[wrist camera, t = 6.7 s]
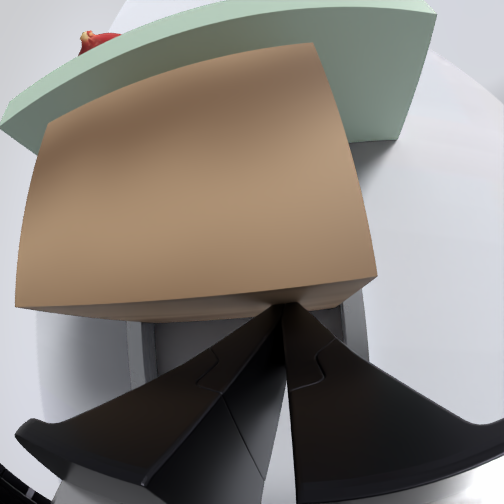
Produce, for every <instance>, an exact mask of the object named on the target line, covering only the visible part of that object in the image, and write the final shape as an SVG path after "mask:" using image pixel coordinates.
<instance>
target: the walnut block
mask: <svg viewBox="0 0 504 504" xmlns="http://www.w3.org/2000/svg"><path fill="white" fill-rule="evenodd" d="M376 277H377V269H376V263H375V257H374V251H373V246H372V240H371V235H370V230H369V225H368V220H367V215H366V211H365V206H364V202H363V197H362V193H361V189H360V185H359V181H358V177H357V173H356V169H355V165H354V161H353V158H352V154H351V151H350V147H349V144H348V140H347V137H346V133H345V130H344V127H343V124H342V120H341V117H340V114H339V111H338V108H337V105H336V102H335V99H334V96H333V93H332V90H331V88H330V85H329V82H328V79H327V77H326V74H325V71H324V69H323V66H322V63H321V61H320V58H319V56H318V53H317V51H316V48H315V46H314V44H313V42H312V43H301V44H292V45H284V46H276V47H270V48H263V49H257V50H252V51H246V52H241V53H236V54H231V55H227V56H222V57H218V58H214V59H210V60H206V61H202V62H198V63H194V64H191V65H187V66H184V67H180V68H177V69H174V70H170V71H167V72H164V73H161V74H158V75H155V76H152V77H149V78H147V79H144V80H141V81H138V82H136V83H133V84H130V85H128V86H125V87H123V88H120V89H118V90H115V91H113V92H111V93H108V94H106V95H104V96H102V97H99V98H97V99H95V100H93V101H91V102H88V103H86V104H84V105H82V106H80V107H78V108H76V109H74V110H72V111H70V112H68V113H66V114H64V115H62V116H61V117H59V118H57V119H55V120H53V121H51V122H50V123H48V125H47V128H46V131H45V134H44V137H43V140H42V143H41V146H40V149H39V153H38V156H37V160H36V163H35V167H34V171H33V175H32V179H31V183H30V188H29V192H28V196H27V201H26V206H25V211H24V217H23V224H22V229H21V236H20V244H19V252H18V262H17V274H16V290H15V307H18V308H24V309H31V310H37V311H43V312H50V313H58V314H65V315H73V316H82V317H91V318H101V319H111V320H122V321H134V322H148V323H171V322H191V321H207V320H221V319H235V318H247V317H256V316H257V315H259V314H260V313H262V312H263V311H264V310H266V309H267V308H269V307H270V306H271V305H274V304H286V303H292V302H299V303H300V304H301V305H302V306H303V307H304V308H305V309H306V310H307V311H314V310H322V309H329V308H335V307H337V306H338V305H340V304H341V303H342V302H344V301H345V300H346V299H348V298H349V297H351V296H352V295H353V294H355V293H356V292H357V291H359V290H360V289H361V288H363V287H364V286H365V285H367V284H368V283H369V282H371V281H372V280H373V279H375V278H376Z"/></svg>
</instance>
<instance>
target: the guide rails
mask: <svg viewBox="0 0 504 504" xmlns="http://www.w3.org/2000/svg"><path fill="white" fill-rule="evenodd" d="M340 310H341V319H342V329H343V340H344V344H345V345H346V346H347V347H349V348H350V349H351V350H352V351H354V352H355V353H357V354H358V355H359V356H361V357H362V358H364V359H365V360H367V361H369V352H368V340H367V329H366V319H365V310H364V302H363V294H362V288H361V289H360V290H359V291H357V292H356V293H355V294H353V295H352V296H351V297H349V298H348V299H346V300H345V301H344V302H342V303H341V304H340ZM126 328H127V346H128V360H129V372H130V382H131V390H133V389H135V388H137V387H139V386H141V385H143V384H145V383H147V382H149V381H151V380H153V379H155V378H157V377H158V374H157V363H156V350H155V335H154V323H148V322H134V321H126Z"/></svg>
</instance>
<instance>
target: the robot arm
mask: <svg viewBox="0 0 504 504" xmlns="http://www.w3.org/2000/svg"><path fill="white" fill-rule="evenodd" d="M286 381H287V388H288V399H289V411H290V423H291V435H292V447H293V460H294V474H295V488H296V504H504V418H503V419H500V420H498V421H496V422H493V423H490V424H481V425H479V424H473V423H470V422H468V421H465V420H464V419H462V418H460V417H459V416H457V415H455V414H454V413H452V412H450V411H448V410H447V409H445V408H443V407H442V406H440V405H438V404H437V403H435V402H433V401H432V400H430V399H428V398H427V397H425V396H423V395H422V394H420V393H418V392H417V391H415V390H414V389H412V388H410V387H409V386H407V385H405V384H404V383H402V382H401V381H399V380H397V379H396V378H394V377H392V376H391V375H389V374H388V373H386V372H384V371H383V370H381V369H380V368H378V367H376V366H375V365H373V364H372V363H370V362H369V361H367V360H365V359H364V358H362V357H361V356H359V355H358V354H357V353H355V352H354V351H352V350H351V349H350V348H349V347H347V346H346V345H345V344H344V343H343V342H342V341H341V340H339V339H338V338H337V337H336V336H334V335H333V334H332V333H331V332H330V331H329V330H328V329H327V328H326V327H325V326H324V325H322V324H321V323H320V322H319V321H318V320H317V319H316V318H315V317H314V316H313V315H312V314H311V313H309V312H308V311H307V310H306V309H305V308H304V307H303V306H302V305H301V304H300V303H299V302H292V303H286V304H274V305H271V306H270V307H269V308H267V309H266V310H264V311H263V312H262V313H260V314H259V315H257V316H256V317H254V318H253V319H252V320H250V321H249V322H247V323H246V324H244V325H243V326H241V327H240V328H239V329H237V330H236V331H234V332H233V333H231V334H230V335H228V336H227V337H225V338H224V339H222V340H221V341H219V342H218V343H216V344H215V345H213V346H212V347H210V348H208V349H207V350H205V351H204V352H202V353H201V354H199V355H197V356H196V357H194V358H192V359H191V360H189V361H187V362H186V363H184V364H182V365H180V366H178V367H177V368H175V369H173V370H171V371H169V372H167V373H165V374H163V375H161V376H159V377H157V378H155V379H153V380H151V381H149V382H147V383H145V384H143V385H141V386H139V387H137V388H135V389H133V390H131V391H129V392H127V393H125V394H123V395H121V396H119V397H117V398H115V399H112V400H110V401H108V402H106V403H104V404H102V405H100V406H97V407H95V408H93V409H91V410H88V411H86V412H84V413H82V414H79V415H77V416H75V417H73V418H70V419H68V420H66V421H63V422H60V423H45V422H43V421H41V420H38V419H35V418H33V419H29V420H28V421H27V422H25V423H24V424H23V425H22V426H21V427H20V428H19V429H18V430H17V431H16V433H15V438H16V439H17V441H18V442H19V443H20V444H21V445H22V446H23V447H24V448H25V449H26V450H27V451H28V452H29V453H30V454H31V455H32V456H34V457H35V458H36V459H37V460H38V461H39V462H40V463H42V464H43V465H44V466H45V467H46V468H48V469H49V470H50V471H51V472H52V473H54V474H55V475H56V476H58V477H59V478H60V479H61V480H62V482H61V484H60V486H59V488H58V490H57V492H56V494H55V496H54V498H53V500H52V501H50V500H49V499H47V498H45V497H44V496H42V495H41V494H39V493H38V492H36V491H34V490H33V489H32V488H30V487H29V486H27V485H26V484H25V483H23V482H22V481H21V480H20V479H18V478H17V477H16V476H14V475H13V474H12V473H11V472H10V471H8V470H7V469H6V468H5V467H4V466H3V465H1V464H0V504H261V499H262V492H263V487H264V481H265V479H266V475H267V471H268V466H269V462H270V458H271V453H272V449H273V445H274V440H275V435H276V431H277V426H278V421H279V417H280V412H281V407H282V402H283V397H284V391H285V386H286Z"/></svg>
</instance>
